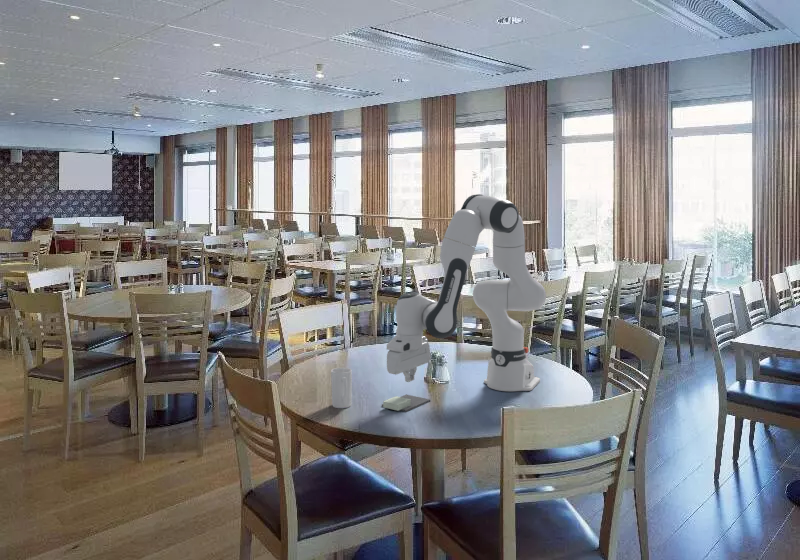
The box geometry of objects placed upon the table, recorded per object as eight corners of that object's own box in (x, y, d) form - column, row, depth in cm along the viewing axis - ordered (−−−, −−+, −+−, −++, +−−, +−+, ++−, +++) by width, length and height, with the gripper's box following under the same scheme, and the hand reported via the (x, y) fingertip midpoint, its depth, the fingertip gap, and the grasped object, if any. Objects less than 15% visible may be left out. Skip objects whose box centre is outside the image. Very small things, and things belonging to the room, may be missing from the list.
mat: (406, 396, 240) (406, 394, 239) (430, 401, 234) (430, 399, 234) (381, 406, 228) (381, 404, 228) (406, 411, 222) (406, 410, 222)
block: (395, 396, 231) (383, 401, 225) (410, 399, 227) (398, 404, 222) (395, 401, 231) (383, 407, 225) (410, 405, 227) (398, 410, 222)
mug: (329, 403, 232) (329, 368, 230) (349, 401, 233) (349, 367, 232) (335, 412, 222) (335, 376, 220) (356, 410, 224) (355, 374, 222)
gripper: (420, 333, 241) (420, 372, 243) (383, 345, 225) (383, 386, 227) (434, 336, 237) (434, 375, 239) (398, 348, 221) (398, 390, 223)
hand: (409, 381), depth 233 cm, fingers closed
